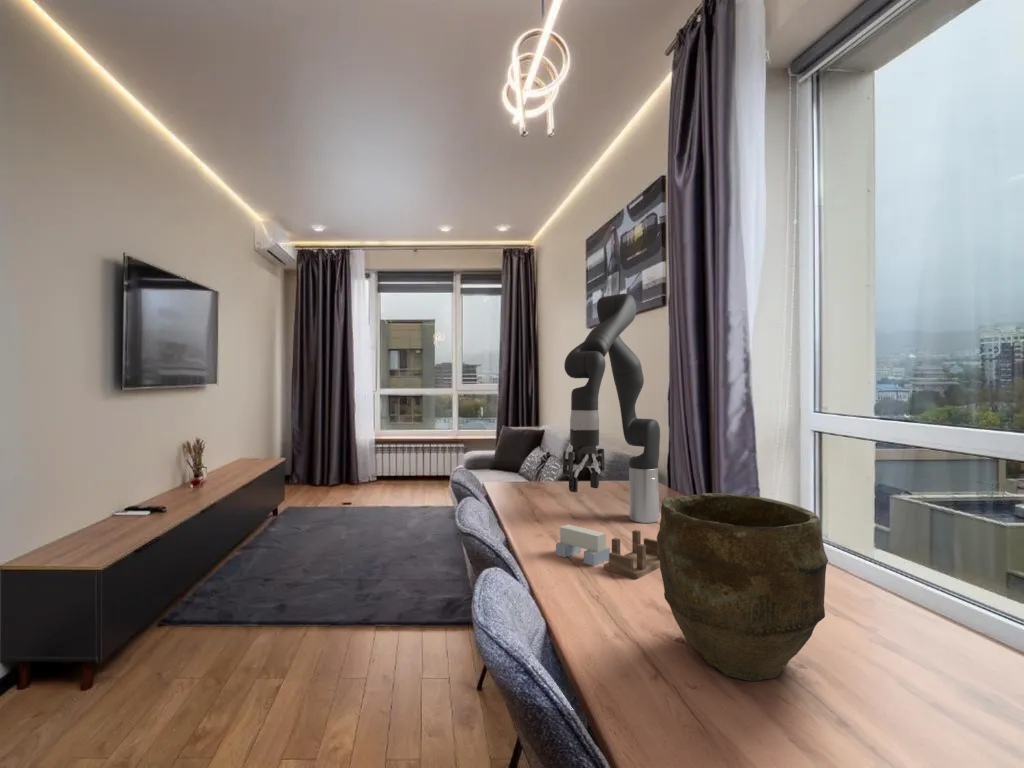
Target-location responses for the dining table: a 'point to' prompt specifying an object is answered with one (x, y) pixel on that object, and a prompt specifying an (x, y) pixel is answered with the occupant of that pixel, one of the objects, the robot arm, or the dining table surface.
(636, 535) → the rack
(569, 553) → the pair of grey blocks
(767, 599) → the clay pot
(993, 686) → the dining table surface
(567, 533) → the white rectangular block
